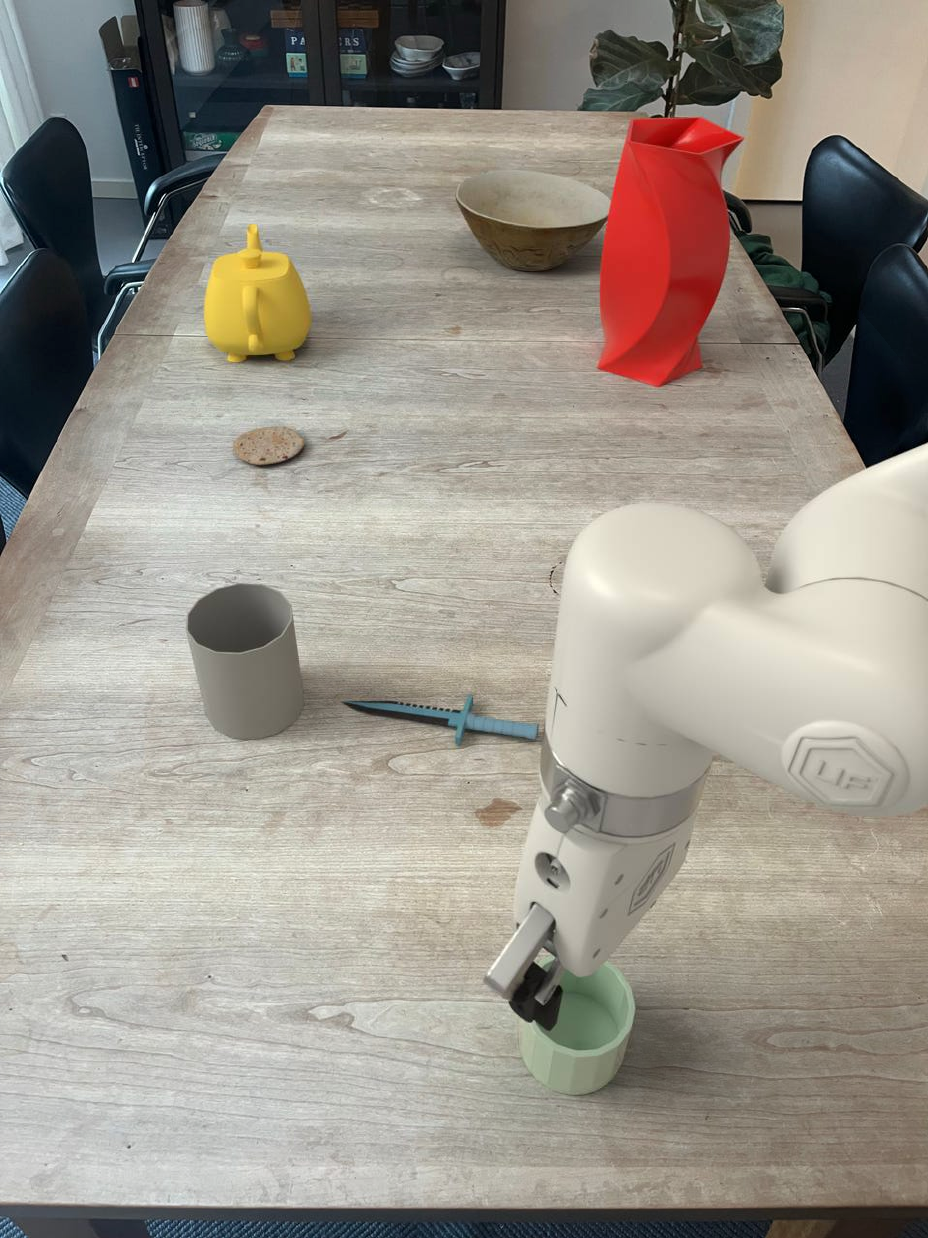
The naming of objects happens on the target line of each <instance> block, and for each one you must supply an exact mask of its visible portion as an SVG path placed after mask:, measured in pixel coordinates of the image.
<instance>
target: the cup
mask: <svg viewBox="0 0 928 1238" xmlns="http://www.w3.org/2000/svg"><path fill="white" fill-rule="evenodd" d="M185 632H186V637H187V641H188V645H189V646H188V647H189V649H190V653H191V658H192V661H193V666H194V671H195V675H196V679H197V683H198V687H199V693H200V695H201V700H202V704H203V708H204V712H205V716H206V718H207V719H208V721H209V723H210V724H211V726H212V727H213V729H214V730H215V731H217V732H218V733H221V734H223V735H225V736H227V737H229V738H231V739H234V740H249V741H250V740H251V741H257V740H261V739H264V738H265V739H266V738H268V737H272V736H275V735H278V734H280V733H281V732H283V731H284V730H286V729H287V728H288V727H289V726H291V725H292V724H293V723H295V722H297V719H298V717H299V715H300V714H301V712H302V710H303V708H304V706H305V700H304V699H305V698H304V686H303V678H302V674H301V672H302V671H301V664H300V657H299V651H298V650H299V649H298V644H297V643H298V642H297V636H296V629H295V621H294V613H293V607H292V603H291V602H290V600H288V599H287V596H285V595H284V594H283V593H282V591H280V590H278V589H275V588H273V587H270V586H267V585H265V584H263V583H251V582H250V583H247V582H245V583H244V582H238V583H237V582H236V583H233V584H228V585H225V586H220V587H217V588H215V589H213V590H212V591H210V592H208V593H206V594H205V595H203V596H201V597H199V598H197V600H196V601H195V603H194V604H193V606H192V607H191V608H190V609H189V611H188V612H187V613H186V621H185Z"/></svg>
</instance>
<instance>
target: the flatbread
mask: <svg viewBox="0 0 928 1238" xmlns="http://www.w3.org/2000/svg"><path fill="white" fill-rule="evenodd" d="M305 445H306V440H305V439H304V438H303V437H302V436H301V435H300V434H298V432H296V431H295V430H294V429H292V428H290V427H287V426H264V427H259V428H256V429H251V430H248V431H246V432H244V433H243V434H240V435H239V436H238V437H236V438H235V439H234V440H233V443H232V449H233V452H234V454H235V456H236V457H237V458H238V459H239V460H241V461H243V462H246V463H248V464H250V465H253V466H265V465H271V464H272V465H273V464H277V463H278V464H279V463H282V462H285V461H287V460H289V459H292V458H294V457H295V456H296V455H298V454H299V453H300V452H301V451H302V449H303V448H304V446H305Z"/></svg>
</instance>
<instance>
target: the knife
mask: <svg viewBox="0 0 928 1238" xmlns="http://www.w3.org/2000/svg"><path fill="white" fill-rule="evenodd" d="M341 703H343V704H345V705H346V706H348V707H349V708H351V709H353V710H356V711H359V712H362V713H365V714H371V715H376V716H377V715H378V716H385V717H392V718H397V719H405V720H412V721H419V722H427V723H433V724H440V725H447V726H448V727H454V728H456V733H455V737H454V739H455V741H454V742H455V745H457V746H461V745H462V741H463V740H464V736H465V733H466V730H471V731H477V732H485V733H492V734H498V735H499V734H500V735H502V734H503V735H507V736H513V737H520V738H527V739H528V740H533V741H536V740H537V738H538V734H539V727H540V726H539V723H535V722H534V723H528V722H521V721H515V720H508V719H507V720H505V719H500V718H497V719H496V718H493V717H486V716H479V715H478V716H477V715H475V714H474V713H472V710H473V709H472V708H473V705H474V694H470V693H469V694H467V697H466V700H465V703H464V706H463V708H461V709H452V710H451V708H446V709H444V707H439V709H438V707H437V706H433V707H432V708H431V705H426V706H425V707H424V704H419V706H418V704H417V703H413V704H412V705H411V702H410V703H409V702H406V703H405V702H403V701H401V702H399V701H397V700H396V701H395V700H347V701H344V700H343V701H342V700H341Z"/></svg>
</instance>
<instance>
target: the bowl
mask: <svg viewBox="0 0 928 1238" xmlns="http://www.w3.org/2000/svg"><path fill="white" fill-rule="evenodd" d="M454 197H455V201H456V203H457V206H458V208H459V210H460V212H461V214H462V216H463V218H464V220H465V222H466V224H467V225H468V228H469V229H470V231H471V233H472V234H473V236H474V237H475V239H476V240H477V242H478V243H479V245H480V246H481V247H482V248H483V249H484V251H485V252H486V253H487V254H488V255H489V256H490V257H491V258H492V259H493V260H494V261H495V262H496V263H498V264H500V265H502V266H504V267H506V268H509V269H513V270H518V271H527V272H535V271H548V270H552V269H555V268H556V267H559V266H560V265H563V264H564V263H565V262H567V261H568V260H570V259H571V258H572V257H574V256H575V255H576V254H577V253H578V252H580V251H581V250H582V249H583V248H584V247H585V246H586V245H588V243H589V242H590V241H592V240H593V238H594V237H595V236H596V235H598V233H599V232H600V231H601V229H602V228H603V227H604V225H606V224H607V219H608V214H609V209H610V204H611V199H610V198H609V197H608V196H607V194H605V193H604V192H603V191H601V190H599V189H597V188H595V187H594V186H591V185H589V184H587V183H584V182H582V181H580V180H576V179H574V178H570V177H566V176H562V175H557V174H553V173H546V172H538V171H531V170H523V169H505V168H504V169H493V170H487V171H484V172H480V173H478V174H475V175H472V176H470V177H468V178H466V179H463V180H462V181H461V182H460V183H459V184H458V186H457V187H456V190H455V194H454Z"/></svg>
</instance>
